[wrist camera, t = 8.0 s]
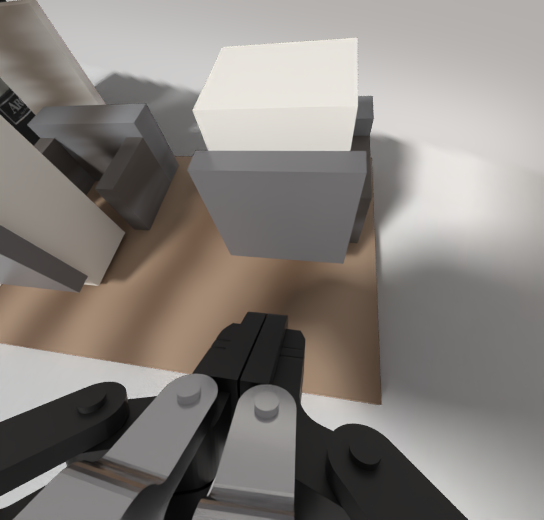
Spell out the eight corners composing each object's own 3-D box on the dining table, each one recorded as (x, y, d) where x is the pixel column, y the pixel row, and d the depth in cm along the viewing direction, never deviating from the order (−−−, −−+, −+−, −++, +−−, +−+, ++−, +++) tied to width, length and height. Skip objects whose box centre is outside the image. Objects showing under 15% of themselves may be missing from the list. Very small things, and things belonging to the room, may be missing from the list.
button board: (-29, 338, 17) (-464, 252, 7) (89, 162, 24) (-50, 7, 15) (376, 404, 13) (594, 405, 3) (368, 165, 20) (424, -51, 11)
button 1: (237, 267, 16) (167, 131, 8) (252, 203, 18) (210, 47, 10) (340, 276, 15) (377, 128, 7) (342, 206, 17) (372, 36, 9)
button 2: (17, 292, 17) (-239, 193, 9) (58, 228, 19) (-116, 105, 11) (98, 302, 16) (-111, 199, 8) (131, 233, 18) (-4, 100, 10)
